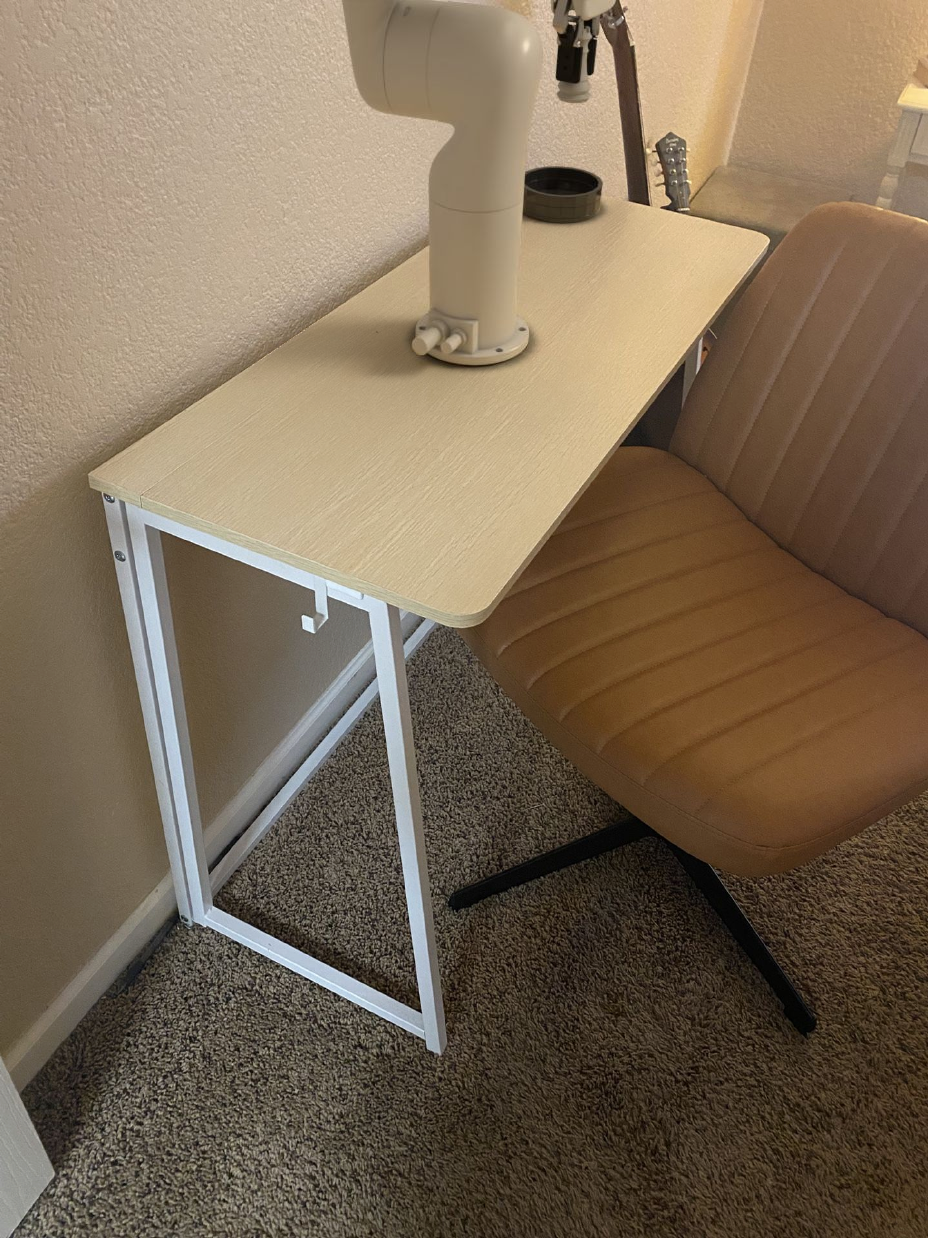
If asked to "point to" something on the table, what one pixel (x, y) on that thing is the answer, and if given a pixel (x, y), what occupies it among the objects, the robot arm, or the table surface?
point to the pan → (561, 194)
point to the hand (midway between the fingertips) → (574, 75)
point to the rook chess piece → (580, 90)
